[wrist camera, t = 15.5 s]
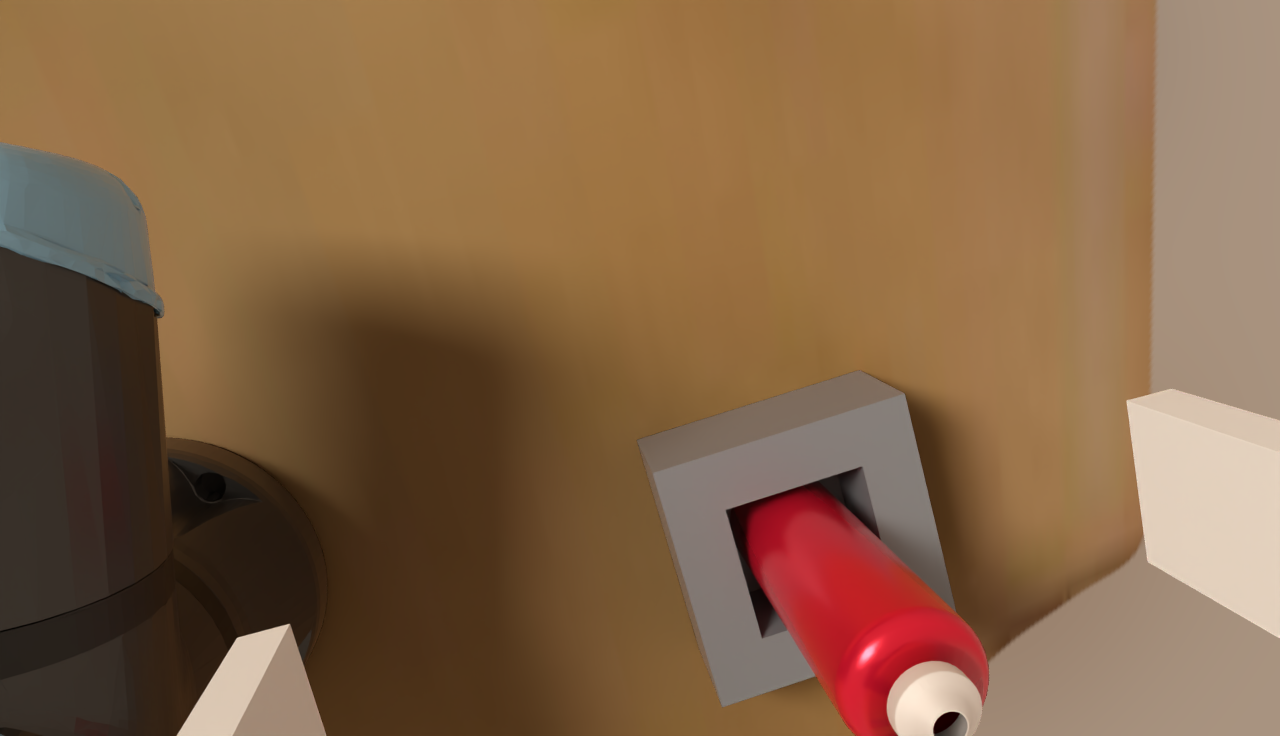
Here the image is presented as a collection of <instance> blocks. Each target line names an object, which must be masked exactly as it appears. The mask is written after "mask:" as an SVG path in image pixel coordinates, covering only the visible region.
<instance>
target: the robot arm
mask: <svg viewBox="0 0 1280 736" xmlns="http://www.w3.org/2000/svg"><path fill="white" fill-rule="evenodd" d="M163 316H164V304H163V301H162V299H161V297H160V296H159V295H158V294H157V293H156V292H155V285H154V277H153V269H152V261H151V253H150V245H149V237H148V229H147V222H146V216H145V213H144V211H143V208H142V205H141V203H140V202H139V200H138V198H137V196H136V195H135V194H134V193H133V192H132V191H131V190H130V188H129V187H128V186H126V185H125V184H124V182H123V181H122V180H121V179H119V178H118V177H116V176H114V175H113V174H111V173H109V172H107V171H106V170H104V169H102V168H100V167H98V166H95V165H93V164H90V163H87V162H84V161H81V160H78V159H75V158H71V157H67V156H63V155H60V154H55V153H50V152H46V151H41V150H37V149H32V148H27V147H23V146H17V145H12V144H7V143H2V142H0V736H327V735H326V732H325V729H324V726H323V723H322V720H321V717H320V714H319V711H318V708H317V705H316V702H315V699H314V696H313V693H312V690H311V687H310V684H309V680H308V677H307V674H306V671H305V668H304V667H305V665H306V663H307V661H308V659H309V656H310V654H311V652H312V650H313V648H314V646H315V643H316V641H317V639H318V636H319V634H320V631H321V628H322V624H323V620H324V616H325V611H326V605H327V572H326V566H325V560H324V556H323V552H322V549H321V546H320V543H319V540H318V538H317V535H316V533H315V531H314V529H313V527H312V525H311V523H310V521H309V519H308V518H307V516H306V515H305V513H304V511H303V510H302V509H301V507H300V506H299V504H298V503H297V502H296V500H295V499H294V498H293V497H292V496H291V495H290V493H289V492H288V491H287V490H286V489H285V488H284V487H283V486H282V485H281V484H280V483H278V482H277V481H276V480H275V479H274V478H273V477H272V476H270V475H269V474H268V473H266V472H265V471H264V470H262V469H261V468H259V467H258V466H256V465H255V464H253V463H251V462H250V461H248V460H246V459H244V458H242V457H240V456H238V455H236V454H234V453H232V452H230V451H227V450H224V449H222V448H219V447H216V446H213V445H209V444H206V443H202V442H197V441H193V440H186V439H179V438H166V431H165V418H164V404H163V391H162V378H161V364H160V351H159V338H158V325H157V318H162V317H163ZM1127 408H1128V415H1129V423H1130V431H1131V439H1132V446H1133V454H1134V462H1135V469H1136V477H1137V485H1138V493H1139V500H1140V508H1141V516H1142V523H1143V531H1144V539H1145V546H1146V553H1147V562H1149V563H1150V564H1152V565H1154V566H1155V567H1157V568H1159V569H1161V570H1162V571H1164V572H1166V573H1168V574H1169V575H1171V576H1173V577H1174V578H1176V579H1178V580H1180V581H1181V582H1183V583H1185V584H1187V585H1188V586H1190V587H1192V588H1194V589H1195V590H1197V591H1199V592H1200V593H1202V594H1204V595H1206V596H1207V597H1209V598H1211V599H1213V600H1214V601H1216V602H1218V603H1219V604H1221V605H1223V606H1225V607H1226V608H1228V609H1230V610H1231V611H1233V612H1235V613H1237V614H1238V615H1240V616H1242V617H1244V618H1245V619H1247V620H1249V621H1250V622H1252V623H1254V624H1256V625H1258V626H1259V627H1261V628H1263V629H1264V630H1266V631H1268V632H1269V633H1271V634H1273V635H1275V636H1277V637H1278V638H1280V421H1279V420H1276V419H1273V418H1269V417H1266V416H1262V415H1259V414H1256V413H1252V412H1249V411H1245V410H1242V409H1239V408H1235V407H1232V406H1228V405H1225V404H1222V403H1218V402H1215V401H1211V400H1208V399H1205V398H1202V397H1198V396H1195V395H1191V394H1188V393H1184V392H1181V391H1178V390H1174V389H1169V390H1165V391H1161V392H1157V393H1154V394H1150V395H1146V396H1142V397H1139V398H1135V399H1131V400H1127Z"/></svg>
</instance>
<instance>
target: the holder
mask: <svg viewBox="0 0 1280 736" xmlns="http://www.w3.org/2000/svg"><path fill="white" fill-rule="evenodd" d="M637 442H638V446H639V449H640V453H641V456H642V459H643V463H644V466H645V469H646V473H647V476H648V479H649V483H650V486H651V489H652V493H653V496H654V499H655V503H656V506H657V509H658V513H659V516H660V519H661V523H662V526H663V529H664V533H665V536H666V540H667V543H668V546H669V550H670V553H671V556H672V560H673V563H674V566H675V570H676V573H677V576H678V580H679V583H680V586H681V590H682V593H683V596H684V600H685V603H686V606H687V610H688V613H689V616H690V620H691V623H692V627H693V630H694V633H695V637H696V640H697V643H698V647H699V650H700V652H701V655H702V657H703V660H704V662H705V665H706V667H707V670H708V673H709V675H710V678H711V680H712V683H713V685H714V688H715V690H716V693H717V695H718V698H719V700H720V703H721V706H722V707H725V706H728V705H731V704H734V703H737V702H740V701H743V700H746V699H749V698H752V697H755V696H758V695H761V694H764V693H767V692H770V691H773V690H776V689H779V688H782V687H785V686H788V685H791V684H794V683H797V682H800V681H803V680H806V679H809V678H812V677H815V674H814V672H813V671H812V669H811V668H810V666H809V664H808V663H807V661H806V659H805V658H804V656H803V655H802V653H801V651H800V650H799V648H798V646H797V645H796V643H795V642H794V640H793V638H792V637H791V635H790V633H789V632H788V630H787V629H786V627H785V625H784V624H783V622H782V620H781V619H780V617H779V616H778V614H777V612H776V611H775V609H774V608H773V606H772V604H771V603H770V601H769V599H768V598H767V596H766V595H765V593H764V591H763V590H762V588H761V586H760V585H759V583H758V582H757V580H756V578H755V577H754V575H753V573H752V572H751V570H750V569H749V567H748V565H747V564H746V562H745V560H744V559H743V557H742V556H741V554H740V552H739V551H738V549H737V547H736V545H735V541H734V538H733V534H732V531H731V527H730V514H731V510H732V508H733V507H737V506H740V505H743V504H746V503H749V502H752V501H755V500H758V499H762V498H765V497H768V496H771V495H774V494H777V493H780V492H783V491H787V490H790V489H793V488H796V487H799V486H802V485H805V484H808V483H812V482H815V481H819V482H820V483H821V484H822V485H823V486H824V487H825V488H826V489H827V490H828V491H830V492H831V493H832V494H833V495H834V496H835V497H836V498H837V499H838V500H839V501H840V502H841V503H842V504H843V505H844V506H845V507H846V508H847V509H848V510H849V511H850V512H852V513H853V514H854V515H855V516H856V517H857V518H858V519H859V520H860V521H861V522H862V523H863V524H864V525H865V526H866V527H867V528H868V529H869V530H870V531H871V532H872V533H873V534H875V535H876V536H877V537H878V538H879V539H880V540H881V541H882V542H883V543H884V544H885V545H886V546H887V547H888V548H889V549H890V550H891V551H892V552H893V553H894V554H895V555H896V556H898V557H899V558H900V559H901V560H902V561H903V562H904V563H905V564H906V565H907V566H908V567H909V568H910V569H911V570H912V571H913V572H914V573H915V574H916V575H917V576H918V577H919V578H921V579H922V580H923V581H924V582H925V583H926V584H927V585H928V586H929V587H930V588H931V589H932V590H933V591H934V592H935V593H936V594H937V595H938V596H939V597H940V598H941V599H942V600H944V601H945V602H946V603H947V604H948V605H949V606H950V607H951V608H952V609H953V610H954V611H955V612H956V609H955V604H954V600H953V596H952V592H951V587H950V583H949V579H948V575H947V571H946V566H945V562H944V558H943V554H942V549H941V545H940V541H939V537H938V532H937V528H936V524H935V520H934V516H933V511H932V507H931V503H930V499H929V494H928V490H927V486H926V482H925V477H924V473H923V469H922V465H921V461H920V456H919V452H918V448H917V444H916V439H915V435H914V431H913V427H912V422H911V418H910V414H909V410H908V406H907V401H906V397H905V394H904V393H903V392H901V391H899V390H897V389H895V388H893V387H891V386H889V385H887V384H885V383H883V382H881V381H879V380H878V379H876V378H874V377H872V376H870V375H868V374H866V373H864V372H862V371H860V370H859V371H855V372H852V373H849V374H846V375H843V376H839V377H836V378H833V379H830V380H827V381H823V382H820V383H817V384H814V385H811V386H807V387H804V388H801V389H798V390H795V391H791V392H788V393H785V394H782V395H779V396H776V397H772V398H769V399H766V400H763V401H760V402H756V403H753V404H750V405H747V406H744V407H740V408H737V409H734V410H731V411H728V412H724V413H721V414H718V415H715V416H712V417H708V418H705V419H702V420H699V421H696V422H692V423H689V424H686V425H683V426H680V427H676V428H673V429H670V430H667V431H664V432H661V433H657V434H654V435H651V436H648V437H645V438H641V439H638V440H637Z"/></svg>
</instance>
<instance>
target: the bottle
mask: <svg viewBox="0 0 1280 736" xmlns="http://www.w3.org/2000/svg"><path fill="white" fill-rule="evenodd" d="M730 527H731V531H732V534H733V538H734V541H735V545H736V547H737V549H738V551H739V552H740V554H741V556H742V557H743V559H744V560H745V562H746V564H747V565H748V567H749V569H750V570H751V572H752V573H753V575H754V577H755V578H756V580H757V582H758V583H759V585H760V586H761V588H762V590H763V591H764V593H765V595H766V596H767V598H768V599H769V601H770V603H771V604H772V606H773V608H774V609H775V611H776V612H777V614H778V616H779V617H780V619H781V620H782V622H783V624H784V625H785V627H786V629H787V630H788V632H789V633H790V635H791V637H792V638H793V640H794V642H795V643H796V645H797V646H798V648H799V650H800V651H801V653H802V655H803V656H804V658H805V659H806V661H807V663H808V664H809V666H810V668H811V669H812V671H813V672H814V674H815V676H816V677H817V679H818V681H819V682H820V684H821V685H822V687H823V689H824V690H825V692H826V694H827V695H828V697H829V698H830V700H831V702H832V703H833V705H834V707H835V708H836V710H837V711H838V713H839V715H840V716H841V718H842V720H843V721H844V723H845V724H846V726H847V727H848V728H849V729H850V730H851V731H852V733H853V734H854V735H855V736H973V735H974V733H975V731H976V730H977V728H978V726H979V723H980V720H981V715H982V707H983V704H984V702H985V699H986V696H987V691H988V685H989V665H988V661H987V657H986V653H985V649H984V647H983V645H982V643H981V641H980V639H979V637H978V636H977V634H976V633H975V632H974V631H973V629H972V628H971V627H970V626H969V625H968V623H967V622H965V621H964V620H963V619H962V618H961V617H960V616H959V615H958V614H957V613H956V612H955V611H954V610H953V609H952V608H951V607H950V606H949V605H948V604H947V603H946V602H945V601H944V600H942V599H941V598H940V597H939V596H938V595H937V594H936V593H935V592H934V591H933V590H932V589H931V588H930V587H929V586H928V585H927V584H926V583H925V582H924V581H923V580H922V579H921V578H919V577H918V576H917V575H916V574H915V573H914V572H913V571H912V570H911V569H910V568H909V567H908V566H907V565H906V564H905V563H904V562H903V561H902V560H901V559H900V558H899V557H898V556H896V555H895V554H894V553H893V552H892V551H891V550H890V549H889V548H888V547H887V546H886V545H885V544H884V543H883V542H882V541H881V540H880V539H879V538H878V537H877V536H876V535H875V534H873V533H872V532H871V531H870V530H869V529H868V528H867V527H866V526H865V525H864V524H863V523H862V522H861V521H860V520H859V519H858V518H857V517H856V516H855V515H854V514H853V513H852V512H850V511H849V510H848V509H847V508H846V507H845V506H844V505H843V504H842V503H841V502H840V501H839V500H838V499H837V498H836V497H835V496H834V495H833V494H832V493H831V492H830V491H828V490H827V489H826V488H825V487H824V486H823V485H822V484H821V483H820V482H819V481H815V482H812V483H808V484H805V485H802V486H799V487H796V488H793V489H790V490H787V491H783V492H780V493H777V494H774V495H771V496H768V497H765V498H762V499H758V500H755V501H752V502H749V503H746V504H743V505H740V506H737V507H733V508H732V510H731V514H730Z"/></svg>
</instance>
